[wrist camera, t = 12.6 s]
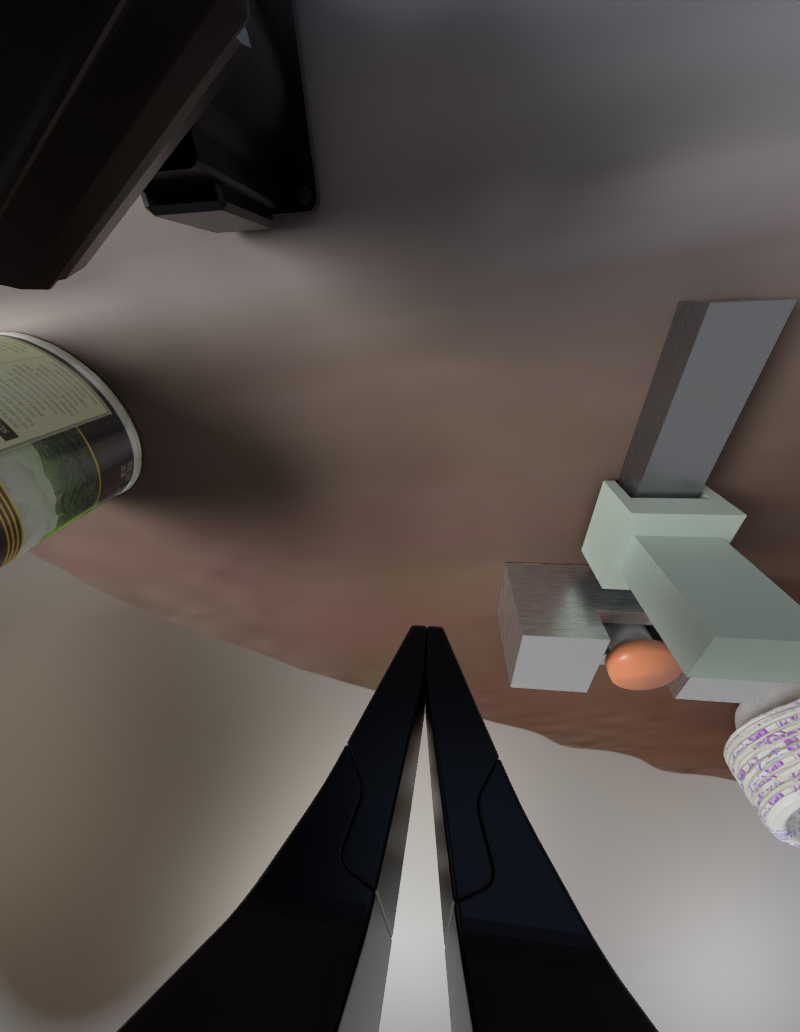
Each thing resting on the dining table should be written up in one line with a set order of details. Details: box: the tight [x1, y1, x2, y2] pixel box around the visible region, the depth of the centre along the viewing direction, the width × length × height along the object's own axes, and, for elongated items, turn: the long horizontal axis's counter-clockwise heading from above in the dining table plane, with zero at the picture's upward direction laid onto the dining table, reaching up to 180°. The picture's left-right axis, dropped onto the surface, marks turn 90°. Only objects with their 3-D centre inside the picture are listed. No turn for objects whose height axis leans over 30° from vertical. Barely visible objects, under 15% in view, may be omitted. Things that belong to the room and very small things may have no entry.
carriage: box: [581, 481, 800, 684], centre depth 16 cm, size 5×5×9 cm
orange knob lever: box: [603, 623, 682, 690], centre depth 21 cm, size 4×4×5 cm
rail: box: [617, 298, 797, 499], centre depth 18 cm, size 14×3×2 cm, turn 3°
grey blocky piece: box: [497, 562, 780, 704], centre depth 22 cm, size 5×14×6 cm, turn 93°
